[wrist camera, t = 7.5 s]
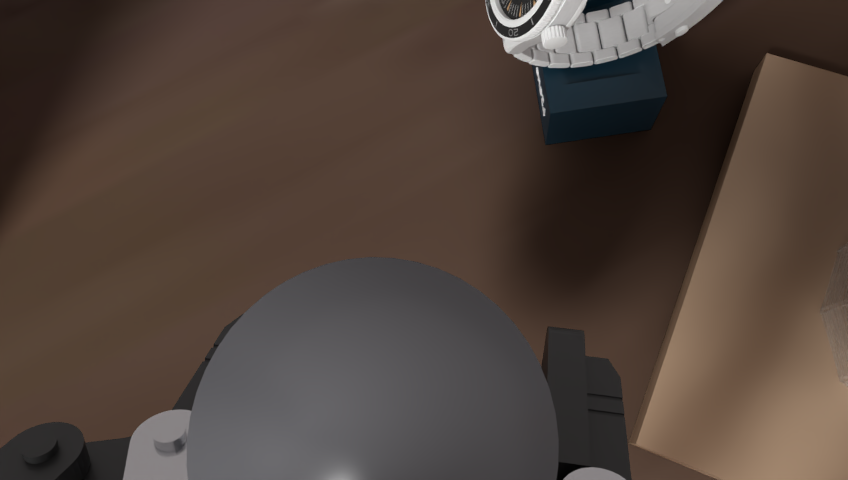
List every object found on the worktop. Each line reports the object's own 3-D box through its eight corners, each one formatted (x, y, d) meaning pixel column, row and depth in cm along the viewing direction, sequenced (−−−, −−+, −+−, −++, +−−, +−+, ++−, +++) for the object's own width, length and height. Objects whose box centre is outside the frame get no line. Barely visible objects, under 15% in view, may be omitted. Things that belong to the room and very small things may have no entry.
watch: (481, 34, 31) (469, -164, 21) (667, 5, 31) (752, -215, 20) (498, 153, 30) (495, 5, 19) (694, 125, 29) (802, -45, 19)
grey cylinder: (305, 485, 19) (117, 550, 9) (379, 309, 20) (278, 204, 10) (484, 566, 18) (479, 727, 9) (552, 377, 19) (615, 331, 10)
